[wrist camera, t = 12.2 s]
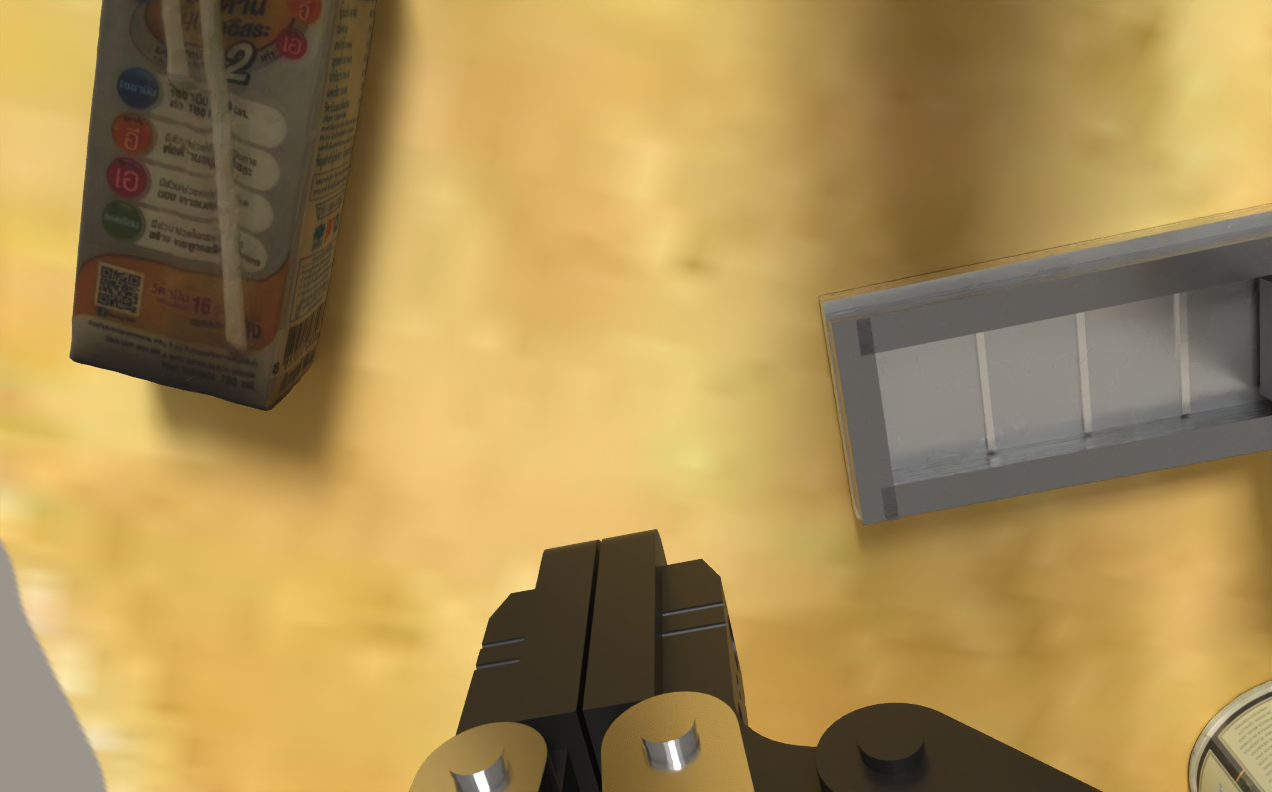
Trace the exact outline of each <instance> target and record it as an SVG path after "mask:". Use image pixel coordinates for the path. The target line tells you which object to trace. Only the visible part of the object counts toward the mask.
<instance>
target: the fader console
mask: <svg viewBox="0 0 1272 792" xmlns="http://www.w3.org/2000/svg"><path fill="white" fill-rule="evenodd" d="M1269 275H1272V203H1271V204H1266V205H1261V206H1256V207H1251V208H1246V209H1242V210H1237V211H1232V212H1227V213H1222V214H1217V215H1212V216H1207V217H1203V218H1198V219H1193V220H1188V221H1183V222H1178V223H1173V224H1168V225H1164V226H1159V227H1154V228H1149V229H1144V230H1139V231H1134V232H1129V233H1125V234H1120V235H1115V236H1110V237H1105V238H1100V239H1095V240H1091V241H1086V242H1081V243H1076V244H1071V245H1066V246H1061V247H1056V248H1052V249H1047V250H1042V251H1037V252H1032V253H1027V254H1022V255H1017V256H1013V257H1008V258H1003V259H998V260H993V261H988V262H983V263H978V264H974V265H969V266H964V267H959V268H954V269H949V270H944V271H939V272H935V273H930V274H925V275H920V276H915V277H910V278H905V279H900V280H896V281H891V282H886V283H881V284H876V285H871V286H866V287H861V288H857V289H852V290H847V291H842V292H837V293H832V294H827V295H822V296H819V301H820V308H821V314H822V320H823V326H824V332H825V338H826V345H827V351H828V357H829V363H830V369H831V376H832V382H833V388H834V394H835V400H836V406H837V413H838V419H839V425H840V431H841V437H842V444H843V450H844V456H845V462H846V468H847V474H848V481H849V487H850V493H851V499H852V505H853V510H854V512H855V515H856V517H857V519H861V520H862V523H863V525H867V524H872V523H878V522H883V521H888V520H894V519H899V517H904V516H910V515H915V514H921V513H926V512H932V511H937V510H943V509H948V508H954V507H959V506H965V505H970V504H976V503H981V502H986V501H992V500H997V499H1003V498H1008V497H1014V496H1019V495H1025V494H1030V493H1036V492H1041V491H1047V490H1052V489H1058V488H1063V487H1068V486H1074V485H1079V484H1085V483H1090V482H1096V481H1101V480H1107V479H1112V478H1118V477H1123V476H1129V475H1134V474H1140V473H1145V472H1150V471H1156V470H1161V469H1167V468H1172V467H1178V466H1183V465H1189V464H1194V463H1200V462H1205V461H1211V460H1216V459H1222V458H1227V457H1232V456H1238V455H1243V454H1249V453H1254V452H1260V451H1265V450H1271V449H1272V401H1271V400H1269V399H1268V398H1266V397H1264V396H1263V395H1261V394H1260V277H1264V276H1269Z"/></svg>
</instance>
